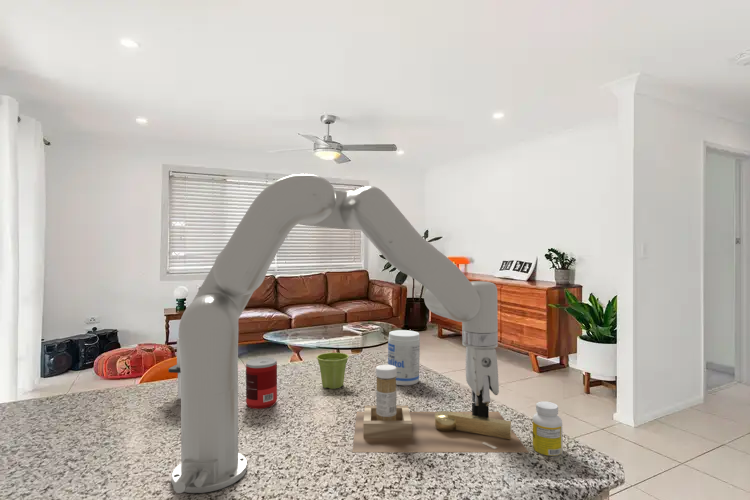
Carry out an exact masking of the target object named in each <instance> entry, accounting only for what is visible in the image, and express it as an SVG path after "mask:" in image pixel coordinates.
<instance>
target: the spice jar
mask: <svg viewBox="0 0 750 500" xmlns="http://www.w3.org/2000/svg"><path fill="white" fill-rule="evenodd" d="M375 376H376V389H375V390H376V391H375V393H376V395H375V397H376V399H375V403H376V404H375V405H376V413H377V421H396V405H397V385H396V376H397V368H396V367H395V366H393V365H388V364H380V365H377V366H376V367H375Z"/></svg>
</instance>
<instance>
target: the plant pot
mask: <svg viewBox="0 0 750 500" xmlns="http://www.w3.org/2000/svg"><path fill="white" fill-rule="evenodd" d="M315 358H316V359H317V363H318V365H319V371H320V377H321V384H322V385H321V386H322V388H325V389H327V388H328V389H331V390H334V389H340V388H342V387H343V386H344V382H345V381H344V380H345V375H346V366H347V362H348V359H349V358H350V356H349V354H347V353H342V352H325V353H320V354H318V355H316V357H315Z"/></svg>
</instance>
